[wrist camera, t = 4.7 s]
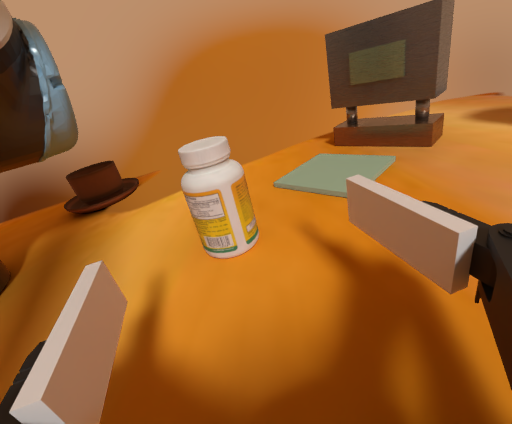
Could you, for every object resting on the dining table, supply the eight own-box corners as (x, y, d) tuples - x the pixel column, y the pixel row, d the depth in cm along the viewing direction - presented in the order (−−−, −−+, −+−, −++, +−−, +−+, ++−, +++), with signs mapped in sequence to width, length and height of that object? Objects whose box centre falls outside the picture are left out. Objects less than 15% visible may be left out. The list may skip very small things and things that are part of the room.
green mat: (274, 186, 35) (273, 182, 35) (319, 157, 41) (319, 153, 41) (354, 198, 27) (354, 193, 27) (395, 160, 34) (395, 156, 33)
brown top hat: (67, 209, 48) (48, 177, 45) (133, 183, 54) (119, 153, 51) (73, 227, 39) (49, 189, 36) (151, 194, 45) (135, 159, 42)
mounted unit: (334, 146, 45) (323, 35, 37) (349, 136, 48) (342, 31, 40) (430, 147, 35) (441, -3, 28) (442, 134, 38) (454, -4, 31)
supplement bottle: (216, 269, 22) (176, 159, 18) (198, 242, 27) (162, 150, 22) (270, 241, 24) (245, 135, 20) (245, 221, 29) (220, 131, 24)
